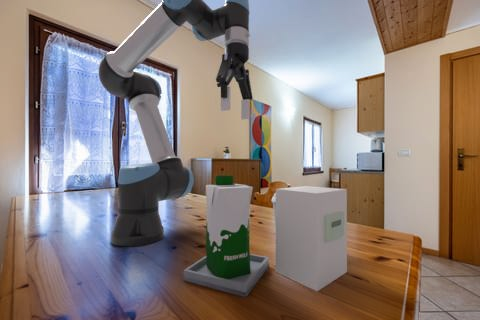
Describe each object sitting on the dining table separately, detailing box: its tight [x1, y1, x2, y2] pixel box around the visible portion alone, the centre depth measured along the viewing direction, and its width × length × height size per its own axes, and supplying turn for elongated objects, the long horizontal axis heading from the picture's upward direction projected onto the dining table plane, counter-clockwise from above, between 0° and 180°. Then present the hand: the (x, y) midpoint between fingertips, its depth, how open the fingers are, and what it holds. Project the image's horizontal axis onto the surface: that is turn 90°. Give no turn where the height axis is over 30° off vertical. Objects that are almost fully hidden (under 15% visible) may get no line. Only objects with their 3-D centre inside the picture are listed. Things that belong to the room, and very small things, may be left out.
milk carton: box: [205, 174, 254, 279], centre depth 48 cm, size 9×9×20 cm
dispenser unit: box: [275, 185, 348, 292], centre depth 50 cm, size 11×12×18 cm
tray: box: [182, 253, 270, 298], centre depth 49 cm, size 14×14×2 cm
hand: (236, 115), depth 70 cm, fingers open, 13 cm apart
